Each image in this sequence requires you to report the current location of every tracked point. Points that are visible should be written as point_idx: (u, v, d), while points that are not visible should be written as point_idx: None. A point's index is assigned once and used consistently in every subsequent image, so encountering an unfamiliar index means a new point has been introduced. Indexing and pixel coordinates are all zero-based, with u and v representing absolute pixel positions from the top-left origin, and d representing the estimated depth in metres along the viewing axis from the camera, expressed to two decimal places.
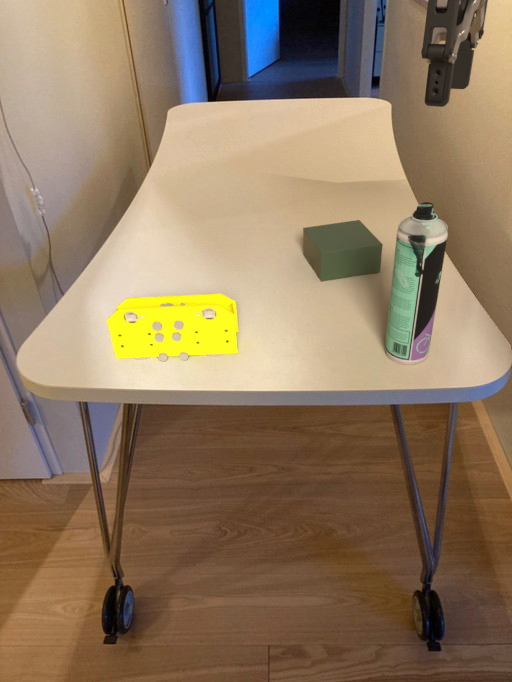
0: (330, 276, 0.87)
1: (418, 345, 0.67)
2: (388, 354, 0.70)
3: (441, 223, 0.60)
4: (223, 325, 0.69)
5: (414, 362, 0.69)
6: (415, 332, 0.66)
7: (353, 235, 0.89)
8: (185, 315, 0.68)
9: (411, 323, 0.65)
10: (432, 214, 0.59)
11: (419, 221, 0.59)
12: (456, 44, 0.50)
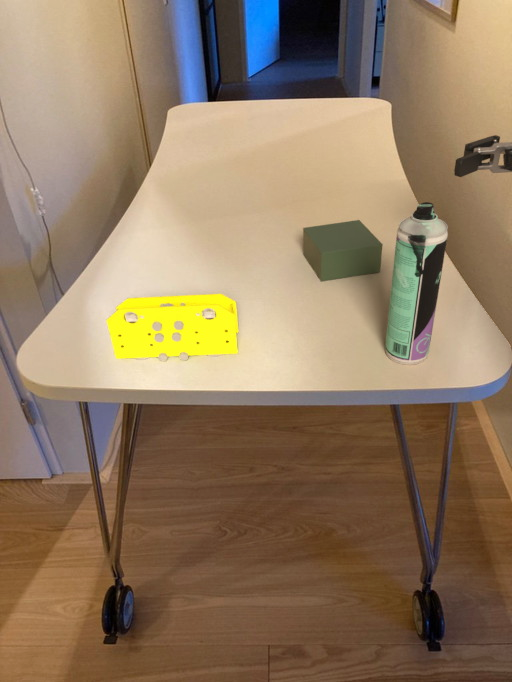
0: (330, 276, 0.87)
1: (418, 345, 0.67)
2: (388, 354, 0.70)
3: (441, 223, 0.60)
4: (223, 325, 0.69)
5: (414, 362, 0.69)
6: (415, 332, 0.66)
7: (353, 235, 0.89)
8: (185, 315, 0.68)
9: (411, 323, 0.65)
10: (432, 214, 0.59)
11: (419, 221, 0.59)
12: (485, 148, 0.69)
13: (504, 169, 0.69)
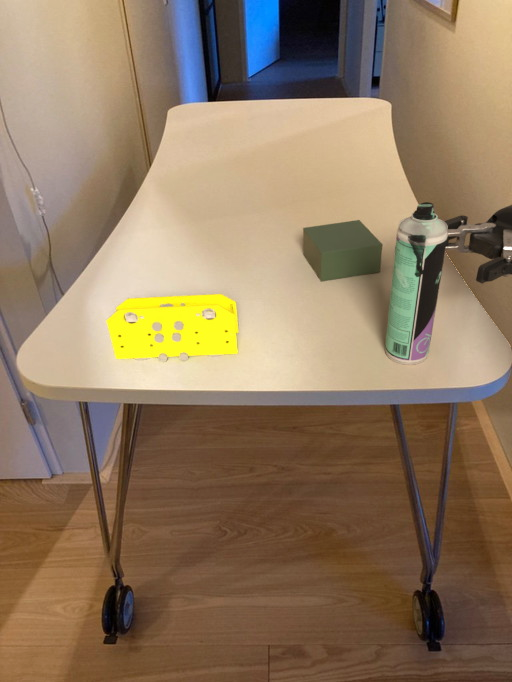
0: (330, 276, 0.87)
1: (418, 345, 0.67)
2: (388, 354, 0.70)
3: (441, 223, 0.60)
4: (223, 325, 0.69)
5: (414, 362, 0.69)
6: (415, 332, 0.66)
7: (353, 235, 0.89)
8: (185, 315, 0.68)
9: (411, 323, 0.65)
10: (432, 214, 0.59)
11: (419, 221, 0.59)
12: (451, 230, 0.72)
13: (470, 250, 0.73)
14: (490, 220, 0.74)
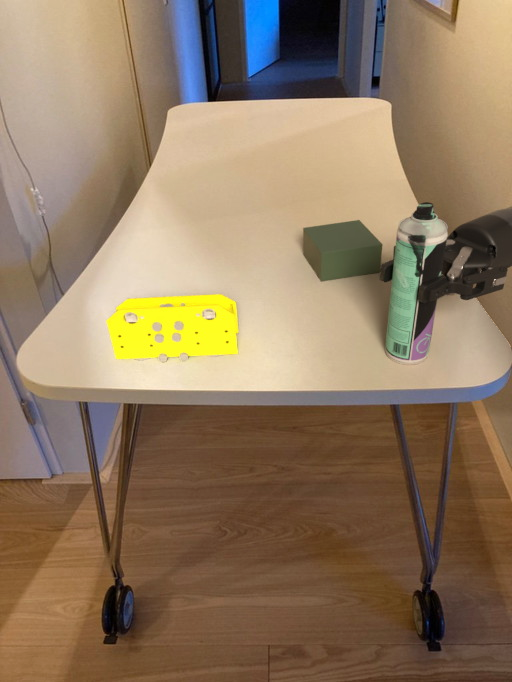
0: (330, 276, 0.87)
1: (418, 345, 0.67)
2: (388, 354, 0.70)
3: (441, 223, 0.60)
4: (223, 326, 0.69)
5: (414, 362, 0.69)
6: (415, 332, 0.66)
7: (353, 235, 0.89)
8: (185, 315, 0.68)
9: (411, 323, 0.65)
10: (432, 214, 0.59)
11: (419, 221, 0.59)
12: None
13: None
14: (451, 236, 0.71)
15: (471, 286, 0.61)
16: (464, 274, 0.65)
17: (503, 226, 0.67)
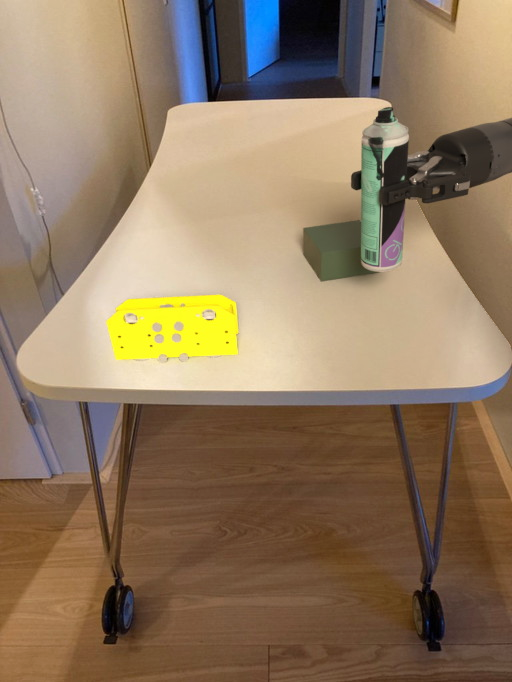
0: (330, 276, 0.87)
1: (387, 251, 0.71)
2: (362, 262, 0.74)
3: (401, 127, 0.63)
4: (223, 326, 0.69)
5: (384, 269, 0.73)
6: (382, 238, 0.70)
7: (353, 235, 0.89)
8: (185, 316, 0.68)
9: (378, 228, 0.69)
10: (391, 117, 0.63)
11: (378, 124, 0.63)
12: None
13: None
14: (430, 150, 0.73)
15: (430, 189, 0.64)
16: None
17: (478, 136, 0.69)
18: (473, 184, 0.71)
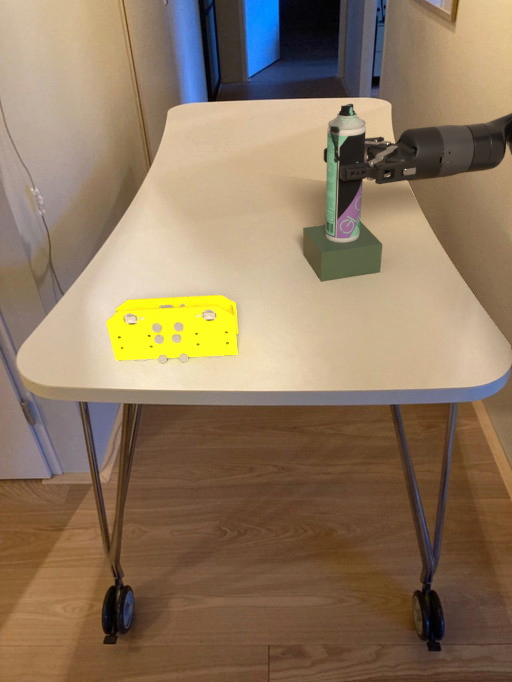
0: (330, 276, 0.87)
1: (341, 224, 0.85)
2: (325, 233, 0.89)
3: (357, 121, 0.77)
4: (223, 327, 0.69)
5: (339, 240, 0.87)
6: (338, 212, 0.84)
7: None
8: (185, 316, 0.68)
9: (334, 204, 0.84)
10: (350, 112, 0.77)
11: (339, 116, 0.78)
12: None
13: None
14: (398, 142, 0.85)
15: (381, 172, 0.77)
16: None
17: (433, 134, 0.80)
18: (425, 175, 0.82)
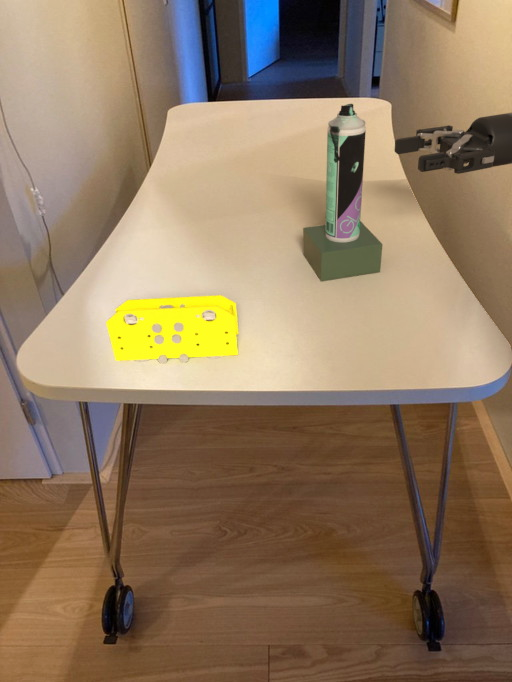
0: (330, 276, 0.87)
1: (341, 224, 0.85)
2: (325, 233, 0.89)
3: (357, 121, 0.78)
4: (223, 327, 0.69)
5: (339, 240, 0.87)
6: (338, 212, 0.84)
7: None
8: (185, 317, 0.68)
9: (334, 204, 0.84)
10: (350, 112, 0.77)
11: (339, 116, 0.78)
12: (427, 134, 0.86)
13: None
14: (469, 130, 0.86)
15: (461, 161, 0.78)
16: None
17: (507, 121, 0.81)
18: (499, 162, 0.83)
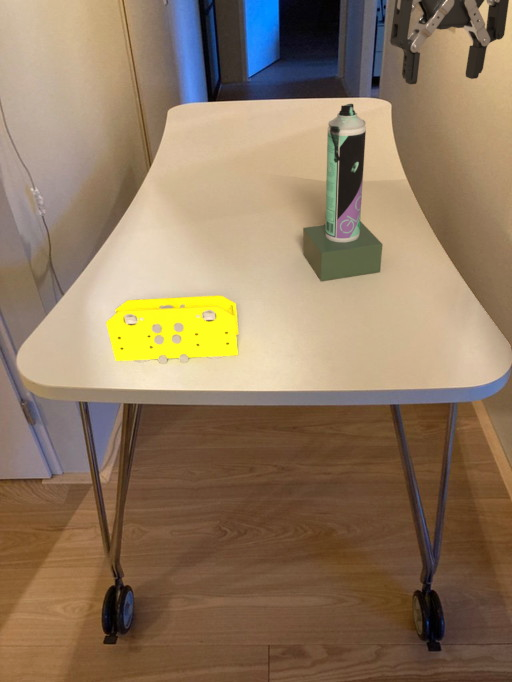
0: (330, 276, 0.87)
1: (341, 224, 0.85)
2: (325, 233, 0.89)
3: (357, 121, 0.78)
4: (223, 327, 0.69)
5: (339, 240, 0.87)
6: (338, 212, 0.84)
7: None
8: (185, 317, 0.68)
9: (334, 204, 0.84)
10: (350, 112, 0.77)
11: (339, 116, 0.78)
12: (417, 38, 0.68)
13: (428, 21, 0.69)
14: None
15: None
16: None
17: None
18: None
